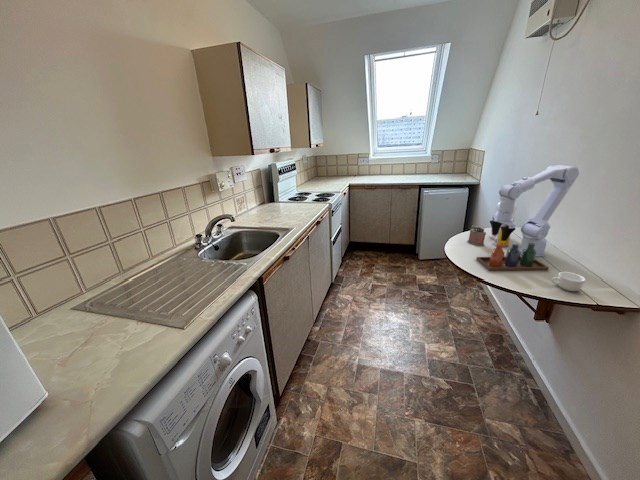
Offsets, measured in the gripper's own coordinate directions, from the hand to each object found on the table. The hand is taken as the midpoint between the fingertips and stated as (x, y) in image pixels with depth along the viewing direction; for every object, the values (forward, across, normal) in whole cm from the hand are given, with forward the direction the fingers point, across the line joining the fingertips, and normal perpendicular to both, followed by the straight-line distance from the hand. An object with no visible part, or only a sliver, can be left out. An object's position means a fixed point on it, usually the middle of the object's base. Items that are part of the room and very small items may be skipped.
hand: (499, 237), depth 130 cm
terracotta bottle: (+10, +10, -6) cm, 15 cm away
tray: (+10, +10, +2) cm, 15 cm away
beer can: (+11, -14, +11) cm, 21 cm away
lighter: (+11, -17, -1) cm, 20 cm away
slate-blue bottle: (+10, +10, +2) cm, 14 cm away
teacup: (+11, +29, +11) cm, 33 cm away
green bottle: (+10, +10, +8) cm, 16 cm away
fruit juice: (+11, -24, +16) cm, 31 cm away
